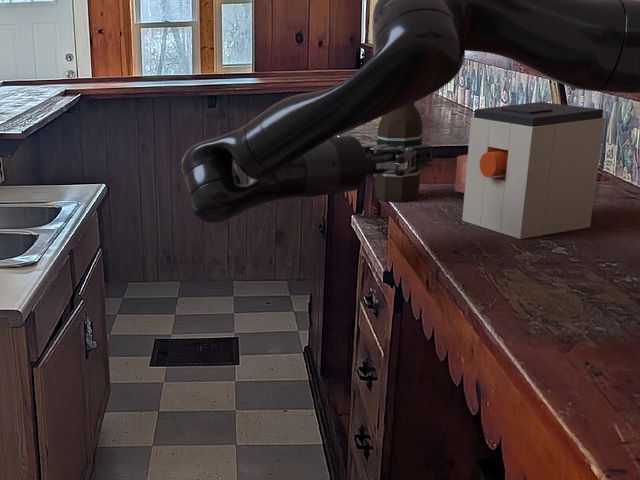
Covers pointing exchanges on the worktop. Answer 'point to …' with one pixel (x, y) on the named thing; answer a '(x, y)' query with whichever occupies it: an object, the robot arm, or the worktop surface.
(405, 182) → the beer bottle
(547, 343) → the worktop surface
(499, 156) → the power button
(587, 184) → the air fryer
